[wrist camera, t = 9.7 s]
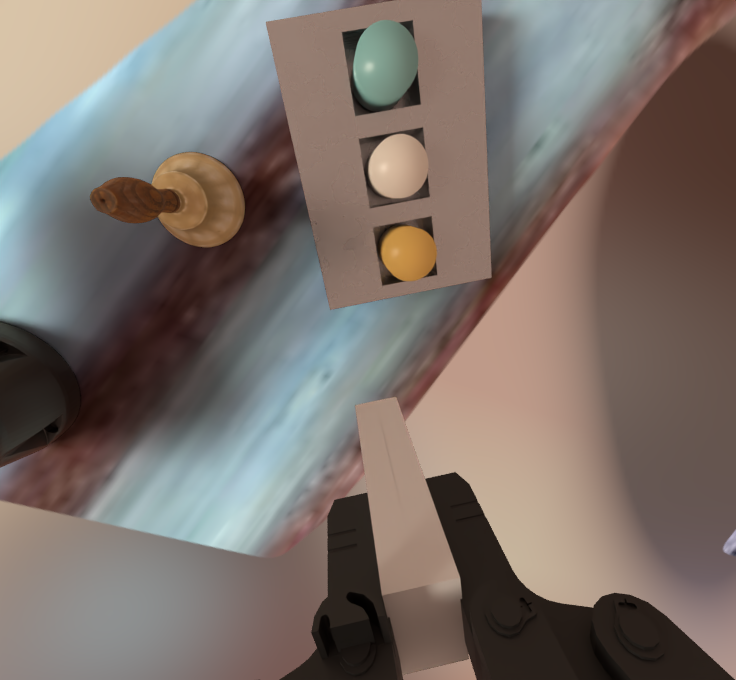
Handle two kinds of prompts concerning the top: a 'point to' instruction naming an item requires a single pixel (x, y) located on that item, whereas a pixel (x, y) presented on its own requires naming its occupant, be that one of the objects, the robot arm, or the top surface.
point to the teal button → (383, 65)
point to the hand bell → (179, 199)
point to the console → (368, 129)
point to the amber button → (407, 252)
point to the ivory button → (397, 167)
